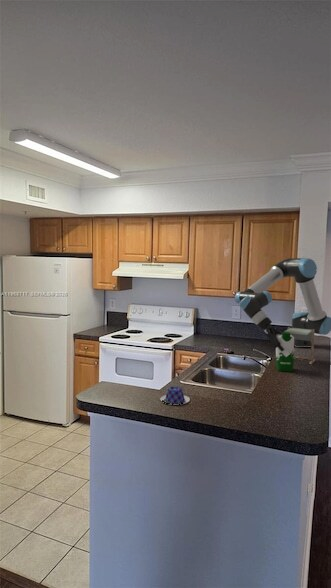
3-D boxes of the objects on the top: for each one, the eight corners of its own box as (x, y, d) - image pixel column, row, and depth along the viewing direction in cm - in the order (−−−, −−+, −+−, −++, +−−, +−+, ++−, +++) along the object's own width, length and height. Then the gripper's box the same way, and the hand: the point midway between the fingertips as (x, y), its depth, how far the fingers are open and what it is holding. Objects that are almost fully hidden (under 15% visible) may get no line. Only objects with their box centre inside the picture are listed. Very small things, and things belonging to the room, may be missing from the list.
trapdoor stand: (289, 357, 225) (290, 325, 223) (315, 360, 217) (316, 328, 215) (284, 360, 216) (285, 328, 214) (311, 364, 208) (312, 330, 206)
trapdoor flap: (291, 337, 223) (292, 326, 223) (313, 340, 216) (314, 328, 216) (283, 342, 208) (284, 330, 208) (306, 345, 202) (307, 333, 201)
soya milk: (277, 371, 194) (278, 333, 193) (273, 366, 203) (275, 330, 202) (294, 372, 193) (296, 333, 192) (290, 367, 202) (291, 330, 201)
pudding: (158, 396, 157) (158, 384, 156) (186, 395, 159) (186, 383, 158) (162, 407, 145) (162, 394, 145) (192, 405, 147) (193, 392, 147)
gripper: (263, 322, 214) (290, 353, 207) (249, 327, 196) (279, 362, 188) (273, 314, 211) (301, 345, 203) (260, 318, 192) (290, 353, 185)
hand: (290, 353), depth 196 cm, fingers closed on soya milk, 9 cm apart
